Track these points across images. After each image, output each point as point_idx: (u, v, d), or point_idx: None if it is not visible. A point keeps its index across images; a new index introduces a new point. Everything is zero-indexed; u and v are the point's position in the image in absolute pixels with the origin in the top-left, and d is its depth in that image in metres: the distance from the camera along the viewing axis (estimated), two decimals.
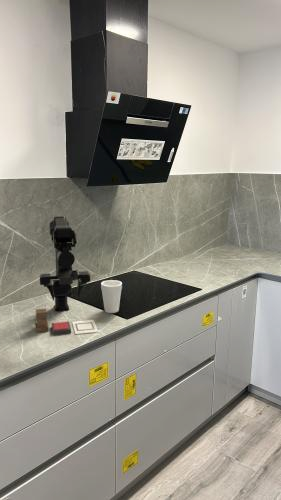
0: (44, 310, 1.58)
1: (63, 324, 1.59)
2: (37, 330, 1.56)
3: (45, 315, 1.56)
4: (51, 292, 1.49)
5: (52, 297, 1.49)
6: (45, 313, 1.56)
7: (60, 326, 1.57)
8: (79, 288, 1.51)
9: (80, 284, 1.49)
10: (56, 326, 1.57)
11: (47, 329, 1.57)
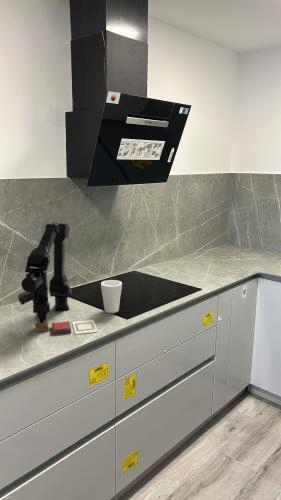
0: None
1: (63, 324, 1.59)
2: (37, 330, 1.56)
3: None
4: None
5: None
6: None
7: (60, 326, 1.57)
8: None
9: None
10: (56, 326, 1.57)
11: (47, 329, 1.57)
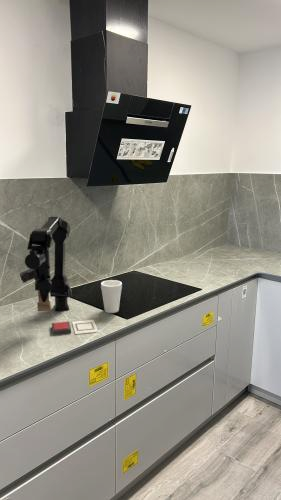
0: None
1: (63, 324, 1.59)
2: (39, 309, 1.54)
3: None
4: None
5: None
6: None
7: (60, 326, 1.57)
8: (40, 292, 1.52)
9: None
10: (56, 326, 1.57)
11: (49, 308, 1.55)
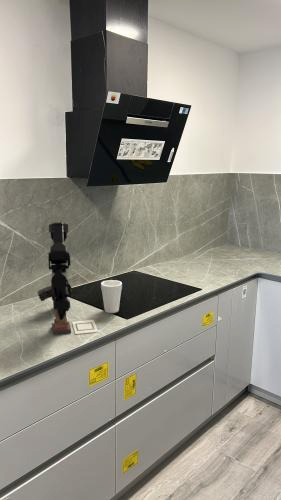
0: None
1: None
2: (56, 326, 1.55)
3: None
4: None
5: None
6: None
7: None
8: None
9: None
10: None
11: (66, 325, 1.56)
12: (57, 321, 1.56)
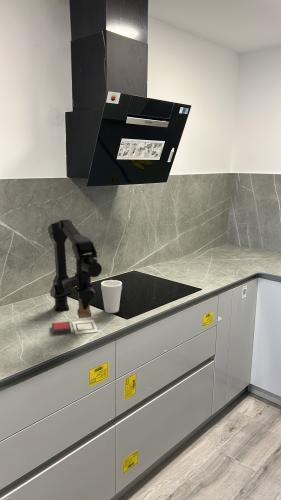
0: None
1: (63, 324, 1.59)
2: (80, 316, 1.57)
3: None
4: None
5: None
6: None
7: (60, 326, 1.57)
8: None
9: None
10: (56, 326, 1.57)
11: (90, 315, 1.58)
12: (81, 311, 1.57)
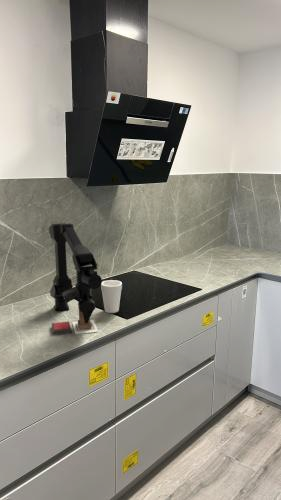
0: None
1: (63, 324, 1.59)
2: (80, 327, 1.58)
3: None
4: None
5: None
6: None
7: (60, 326, 1.57)
8: None
9: None
10: (56, 326, 1.57)
11: (90, 326, 1.59)
12: (81, 322, 1.58)
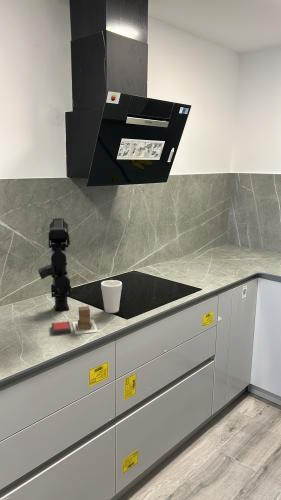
0: (87, 308, 1.60)
1: (63, 324, 1.59)
2: (80, 327, 1.58)
3: (88, 312, 1.58)
4: None
5: (57, 288, 1.68)
6: (88, 311, 1.58)
7: (60, 326, 1.57)
8: (58, 289, 1.58)
9: None
10: (56, 326, 1.57)
11: (90, 326, 1.59)
12: (81, 322, 1.58)
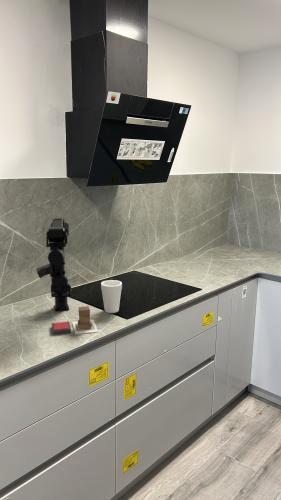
0: (87, 308, 1.60)
1: (63, 324, 1.59)
2: (80, 327, 1.58)
3: (88, 312, 1.58)
4: None
5: None
6: (88, 311, 1.58)
7: (60, 326, 1.57)
8: (55, 288, 1.58)
9: None
10: (56, 326, 1.57)
11: (90, 326, 1.59)
12: (81, 322, 1.58)
